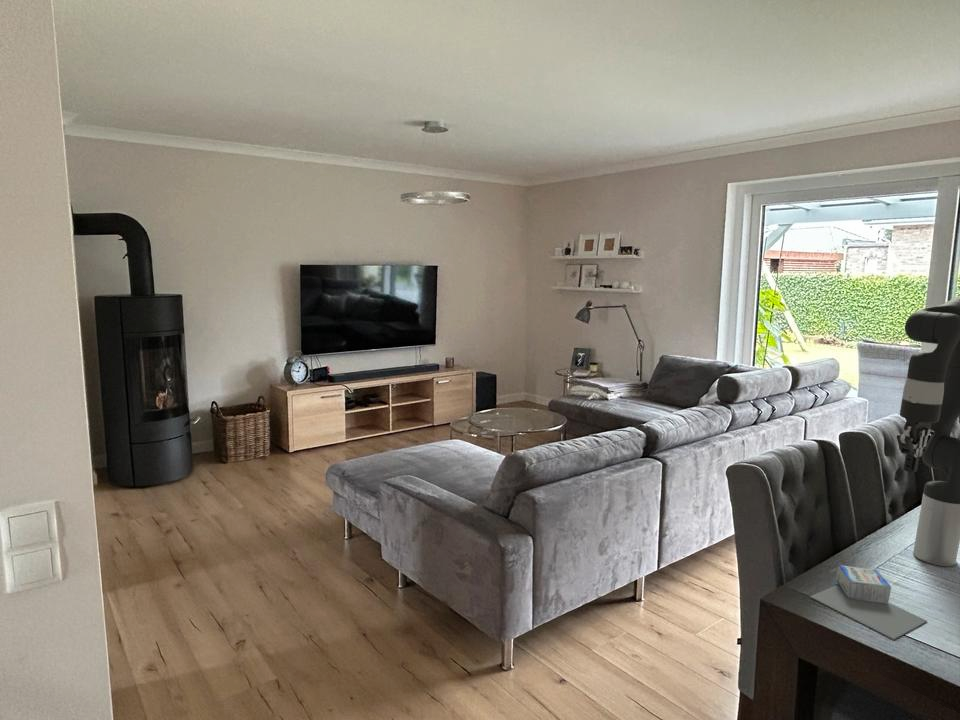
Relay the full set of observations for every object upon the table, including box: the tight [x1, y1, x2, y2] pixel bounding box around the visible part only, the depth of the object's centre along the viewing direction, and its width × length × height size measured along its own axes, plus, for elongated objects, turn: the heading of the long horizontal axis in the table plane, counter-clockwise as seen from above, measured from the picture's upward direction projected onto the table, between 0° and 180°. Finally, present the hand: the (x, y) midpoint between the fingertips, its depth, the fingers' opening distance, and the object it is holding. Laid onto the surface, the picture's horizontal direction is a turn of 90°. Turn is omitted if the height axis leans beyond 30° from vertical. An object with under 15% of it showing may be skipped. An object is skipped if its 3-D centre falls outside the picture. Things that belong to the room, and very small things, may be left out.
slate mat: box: [809, 583, 928, 641], centre depth 139 cm, size 14×18×1 cm
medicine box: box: [835, 564, 892, 604], centre depth 145 cm, size 8×4×9 cm
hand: (910, 471), depth 145 cm, fingers closed
